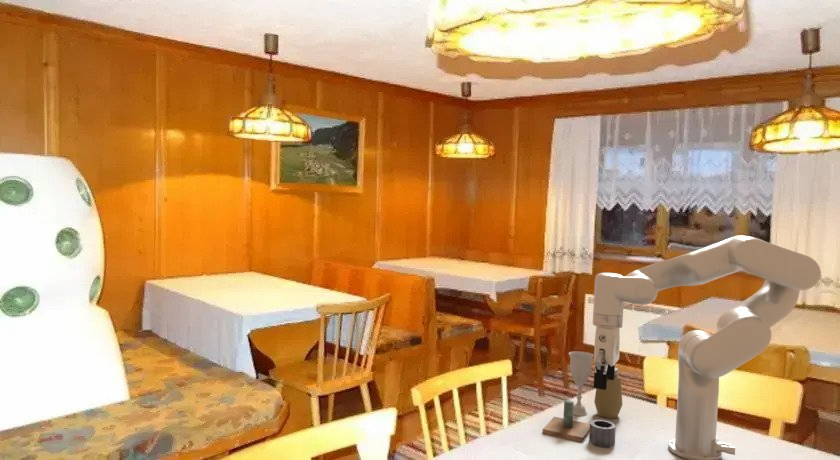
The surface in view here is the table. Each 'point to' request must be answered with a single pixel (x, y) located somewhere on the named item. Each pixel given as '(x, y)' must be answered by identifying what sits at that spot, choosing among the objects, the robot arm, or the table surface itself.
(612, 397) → the squeeze bottle
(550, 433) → the post stand
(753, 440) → the table surface
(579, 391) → the chalice
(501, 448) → the table surface
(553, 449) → the table surface
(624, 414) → the table surface
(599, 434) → the ring
